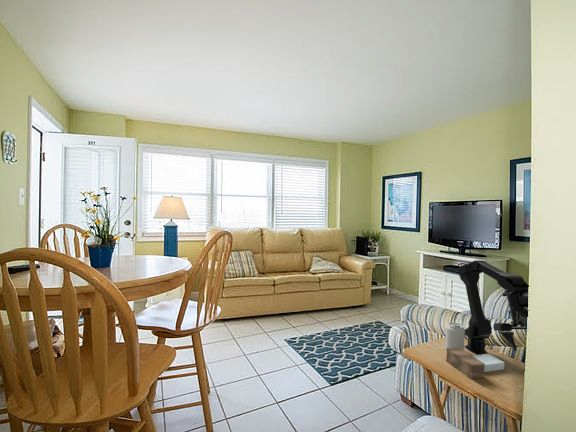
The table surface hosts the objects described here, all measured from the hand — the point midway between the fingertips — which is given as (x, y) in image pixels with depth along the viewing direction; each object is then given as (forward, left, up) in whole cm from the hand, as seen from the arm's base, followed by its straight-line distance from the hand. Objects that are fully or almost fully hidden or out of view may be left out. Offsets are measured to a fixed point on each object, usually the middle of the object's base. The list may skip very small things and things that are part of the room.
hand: (528, 351), depth 114 cm
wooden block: (-14, -14, -13) cm, 24 cm away
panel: (-14, -4, -14) cm, 20 cm away
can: (-28, -6, -14) cm, 32 cm away
